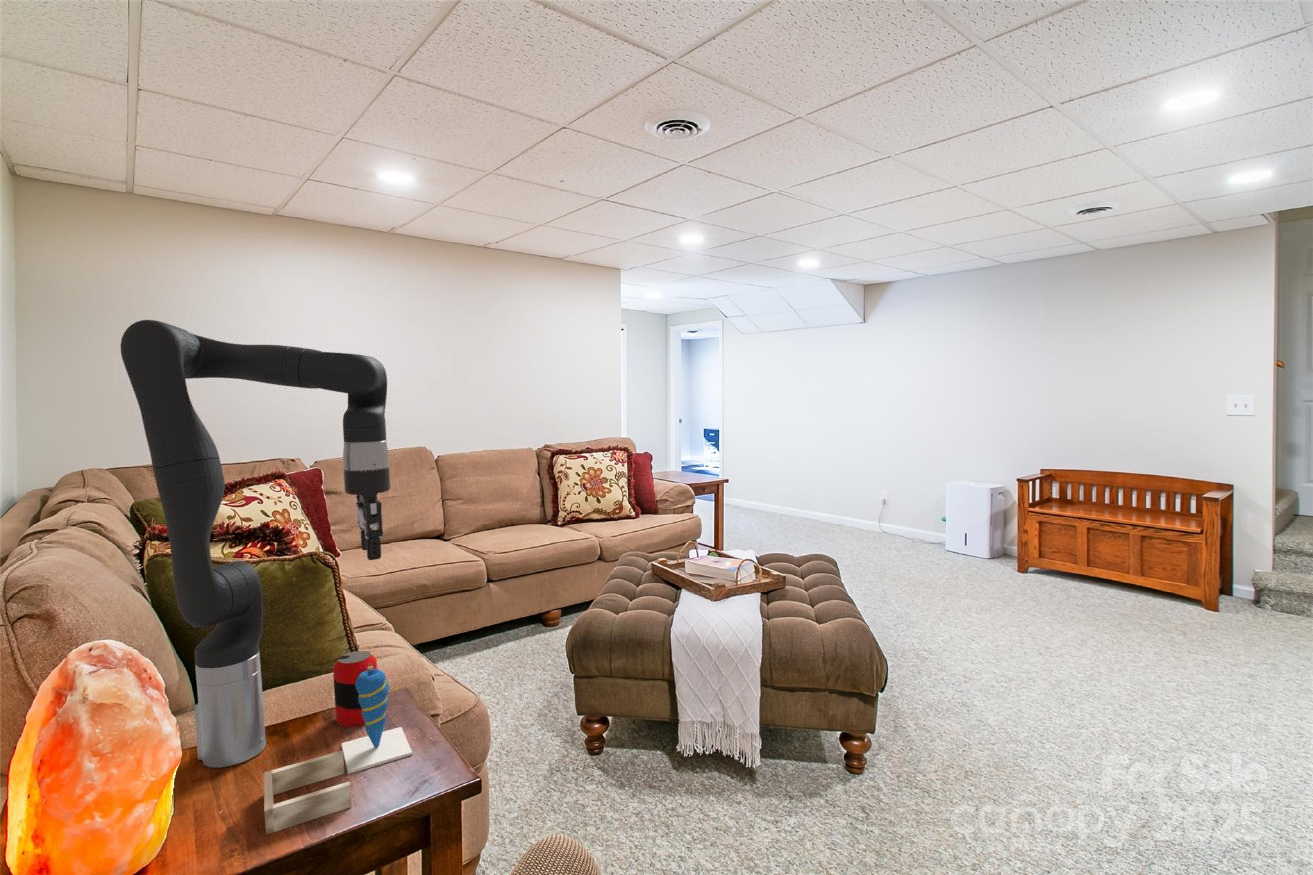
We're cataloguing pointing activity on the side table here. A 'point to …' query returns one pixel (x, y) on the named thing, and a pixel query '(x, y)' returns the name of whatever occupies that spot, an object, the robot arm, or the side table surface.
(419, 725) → the side table surface
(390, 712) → the side table surface
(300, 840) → the side table surface
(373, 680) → the ornament
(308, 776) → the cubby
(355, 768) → the pad
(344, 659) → the soda can
